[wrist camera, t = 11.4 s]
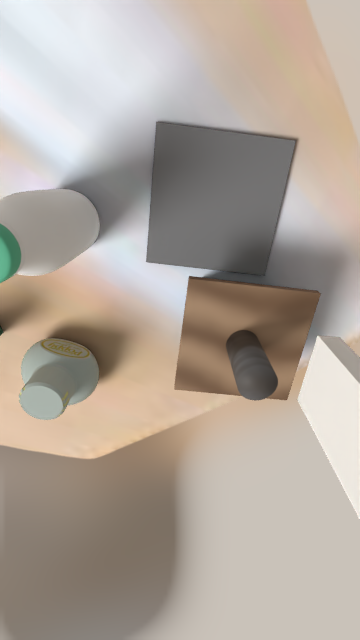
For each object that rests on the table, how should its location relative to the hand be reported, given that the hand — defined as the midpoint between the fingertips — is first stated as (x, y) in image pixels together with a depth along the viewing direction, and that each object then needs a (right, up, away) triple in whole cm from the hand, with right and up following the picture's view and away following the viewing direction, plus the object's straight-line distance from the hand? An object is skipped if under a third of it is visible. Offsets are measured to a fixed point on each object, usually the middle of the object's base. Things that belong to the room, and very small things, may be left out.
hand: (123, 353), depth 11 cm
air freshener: (-15, -5, +38) cm, 41 cm away
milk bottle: (-12, +14, +29) cm, 34 cm away
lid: (+10, -1, +28) cm, 30 cm away
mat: (+6, +15, +28) cm, 33 cm away
